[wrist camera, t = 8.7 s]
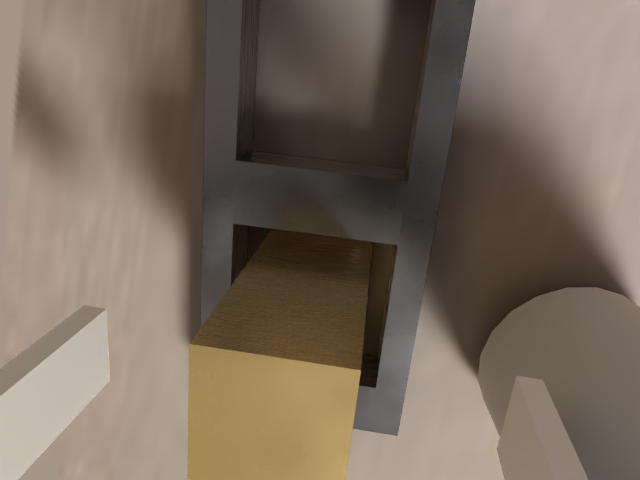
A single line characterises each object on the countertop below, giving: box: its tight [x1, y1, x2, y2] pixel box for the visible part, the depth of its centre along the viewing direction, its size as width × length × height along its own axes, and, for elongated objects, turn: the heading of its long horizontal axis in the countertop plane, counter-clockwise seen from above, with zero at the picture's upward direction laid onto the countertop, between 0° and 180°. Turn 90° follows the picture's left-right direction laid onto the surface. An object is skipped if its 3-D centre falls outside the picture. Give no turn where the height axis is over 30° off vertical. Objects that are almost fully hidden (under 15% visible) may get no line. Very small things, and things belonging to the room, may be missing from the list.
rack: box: [200, 0, 475, 436], centre depth 20 cm, size 9×20×2 cm, turn 174°
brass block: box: [188, 230, 372, 480], centre depth 18 cm, size 4×4×10 cm
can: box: [478, 287, 640, 480], centre depth 17 cm, size 8×8×12 cm
